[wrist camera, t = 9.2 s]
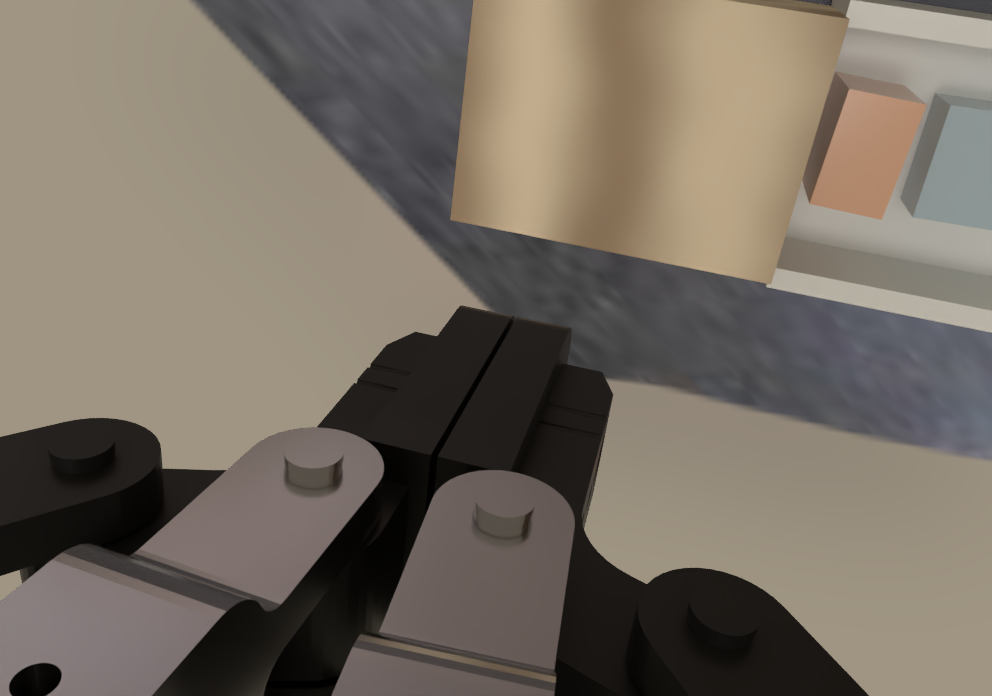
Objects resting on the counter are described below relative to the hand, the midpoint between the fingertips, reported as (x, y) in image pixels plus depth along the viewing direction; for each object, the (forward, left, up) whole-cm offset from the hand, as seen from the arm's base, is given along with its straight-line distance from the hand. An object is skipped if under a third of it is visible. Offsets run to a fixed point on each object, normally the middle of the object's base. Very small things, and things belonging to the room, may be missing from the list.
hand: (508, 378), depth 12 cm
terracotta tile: (-7, 0, -23) cm, 24 cm away
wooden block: (0, +1, -26) cm, 26 cm away
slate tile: (-12, 0, -23) cm, 26 cm away
